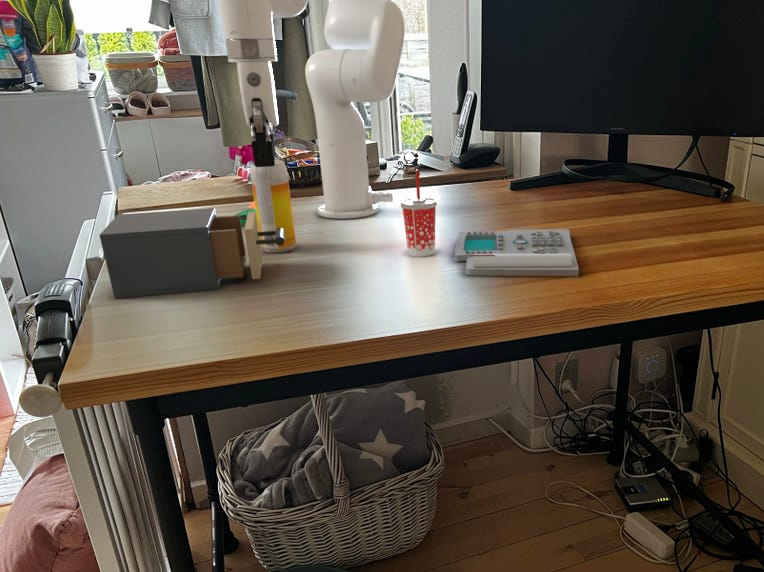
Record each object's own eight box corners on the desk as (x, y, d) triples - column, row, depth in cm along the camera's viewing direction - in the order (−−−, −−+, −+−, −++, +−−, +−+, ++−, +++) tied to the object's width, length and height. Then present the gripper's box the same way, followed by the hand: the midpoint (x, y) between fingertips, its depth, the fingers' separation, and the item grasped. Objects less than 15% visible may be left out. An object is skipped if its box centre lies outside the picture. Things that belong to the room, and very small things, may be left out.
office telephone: (580, 261, 111) (450, 261, 112) (580, 277, 113) (451, 278, 113) (568, 221, 132) (459, 222, 133) (568, 235, 134) (459, 236, 134)
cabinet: (224, 265, 121) (215, 207, 117) (218, 289, 110) (207, 226, 106) (130, 273, 118) (117, 214, 114) (114, 298, 107) (99, 234, 103)
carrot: (259, 225, 145) (258, 217, 144) (228, 227, 144) (227, 218, 143) (270, 208, 158) (269, 200, 158) (242, 209, 158) (241, 201, 157)
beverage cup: (444, 249, 127) (441, 167, 121) (431, 259, 122) (426, 174, 116) (412, 246, 129) (407, 166, 123) (397, 256, 124) (392, 172, 118)
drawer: (288, 255, 122) (282, 209, 119) (288, 276, 112) (281, 226, 109) (177, 264, 119) (167, 217, 115) (166, 287, 109) (155, 235, 105)
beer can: (301, 243, 132) (290, 159, 126) (290, 253, 127) (278, 165, 120) (268, 243, 133) (256, 159, 126) (256, 253, 127) (243, 165, 121)
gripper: (275, 52, 109) (288, 169, 116) (276, 50, 124) (288, 153, 131) (222, 53, 107) (239, 171, 114) (231, 51, 123) (245, 155, 130)
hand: (265, 161), depth 123 cm, fingers open, 9 cm apart
